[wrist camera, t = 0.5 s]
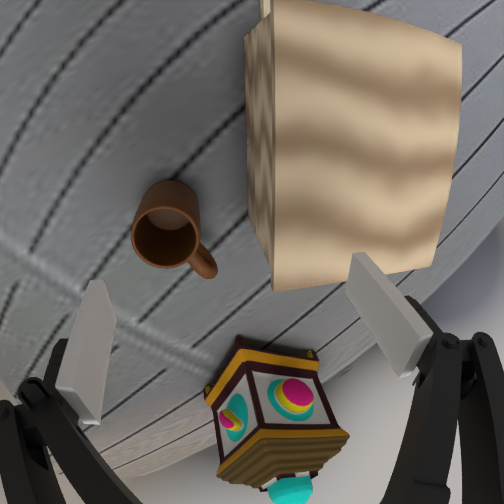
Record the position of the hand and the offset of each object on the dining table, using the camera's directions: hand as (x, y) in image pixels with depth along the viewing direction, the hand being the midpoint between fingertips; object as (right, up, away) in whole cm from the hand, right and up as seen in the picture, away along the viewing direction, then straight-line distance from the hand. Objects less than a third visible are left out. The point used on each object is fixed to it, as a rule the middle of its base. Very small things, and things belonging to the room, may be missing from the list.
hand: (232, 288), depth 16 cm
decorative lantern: (+2, -22, +43) cm, 48 cm away
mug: (-8, +7, +25) cm, 27 cm away
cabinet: (+9, +18, +22) cm, 29 cm away
